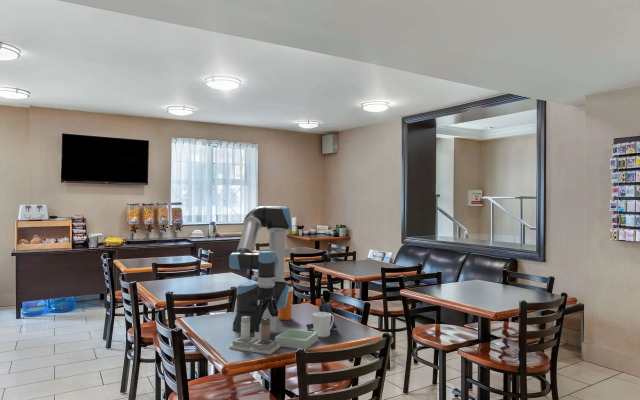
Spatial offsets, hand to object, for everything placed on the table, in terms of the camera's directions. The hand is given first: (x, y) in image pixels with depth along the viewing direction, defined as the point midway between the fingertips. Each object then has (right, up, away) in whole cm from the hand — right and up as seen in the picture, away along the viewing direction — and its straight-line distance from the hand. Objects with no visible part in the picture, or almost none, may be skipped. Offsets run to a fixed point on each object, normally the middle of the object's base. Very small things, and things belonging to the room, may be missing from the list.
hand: (265, 335), depth 186 cm
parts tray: (+13, -7, +10) cm, 18 cm away
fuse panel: (-5, -6, +2) cm, 8 cm away
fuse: (-9, -5, +3) cm, 11 cm away
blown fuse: (0, -5, 0) cm, 5 cm away
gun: (+25, -8, +32) cm, 41 cm away
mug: (+26, -8, +23) cm, 35 cm away
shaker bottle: (+4, -8, +54) cm, 54 cm away
